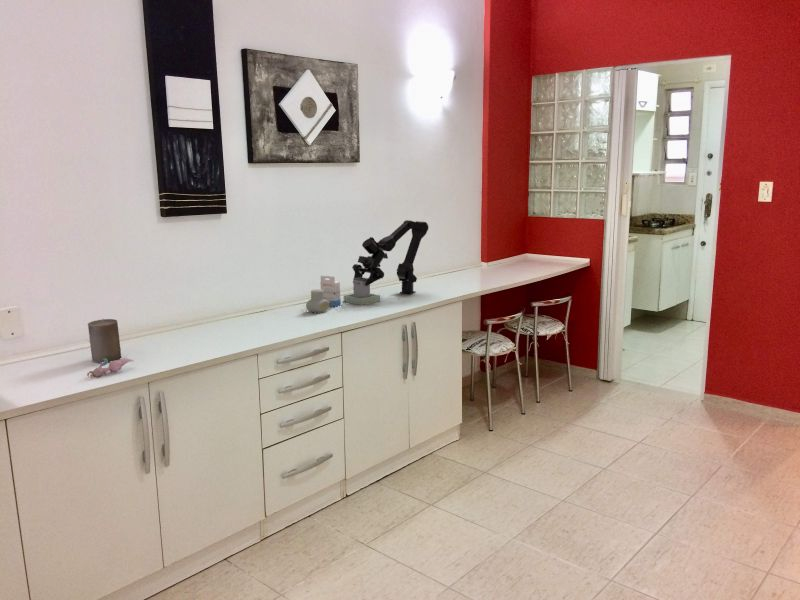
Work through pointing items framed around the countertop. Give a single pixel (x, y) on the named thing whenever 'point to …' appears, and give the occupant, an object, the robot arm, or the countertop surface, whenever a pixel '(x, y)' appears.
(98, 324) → the pillar candle
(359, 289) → the grey rectangular block
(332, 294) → the ink box
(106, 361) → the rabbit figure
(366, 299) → the tray
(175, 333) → the countertop surface
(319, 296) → the beige rounded blocky piece
